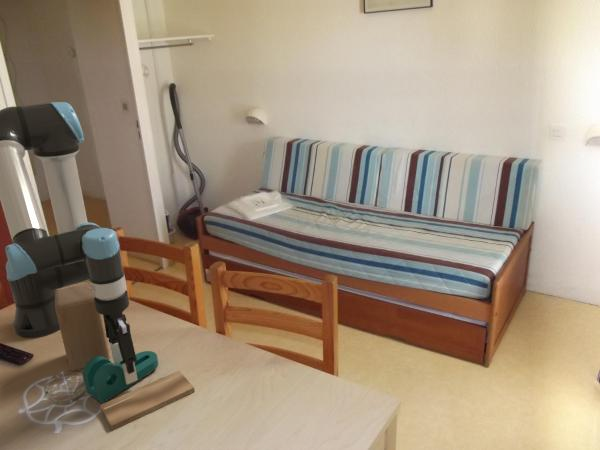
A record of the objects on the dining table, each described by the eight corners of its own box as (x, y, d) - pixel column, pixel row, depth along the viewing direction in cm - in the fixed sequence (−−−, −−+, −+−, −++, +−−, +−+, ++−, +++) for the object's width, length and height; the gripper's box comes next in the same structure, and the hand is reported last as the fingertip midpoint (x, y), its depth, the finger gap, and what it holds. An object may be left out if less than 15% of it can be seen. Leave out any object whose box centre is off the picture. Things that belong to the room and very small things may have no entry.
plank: (100, 409, 121) (99, 404, 120) (179, 374, 132) (179, 370, 131) (112, 430, 114) (111, 425, 114) (194, 391, 125) (194, 387, 125)
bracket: (102, 402, 121) (96, 375, 118) (86, 391, 125) (80, 365, 122) (163, 364, 134) (159, 338, 131) (147, 355, 138) (143, 330, 135)
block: (70, 373, 133) (54, 306, 126) (69, 352, 142) (54, 289, 135) (110, 362, 137) (97, 297, 130) (107, 343, 146) (94, 280, 138)
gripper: (81, 282, 127) (98, 359, 135) (108, 316, 111) (125, 401, 120) (112, 273, 131) (126, 348, 139) (141, 305, 115) (155, 388, 124)
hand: (125, 372), depth 129 cm, fingers closed on bracket, 8 cm apart
